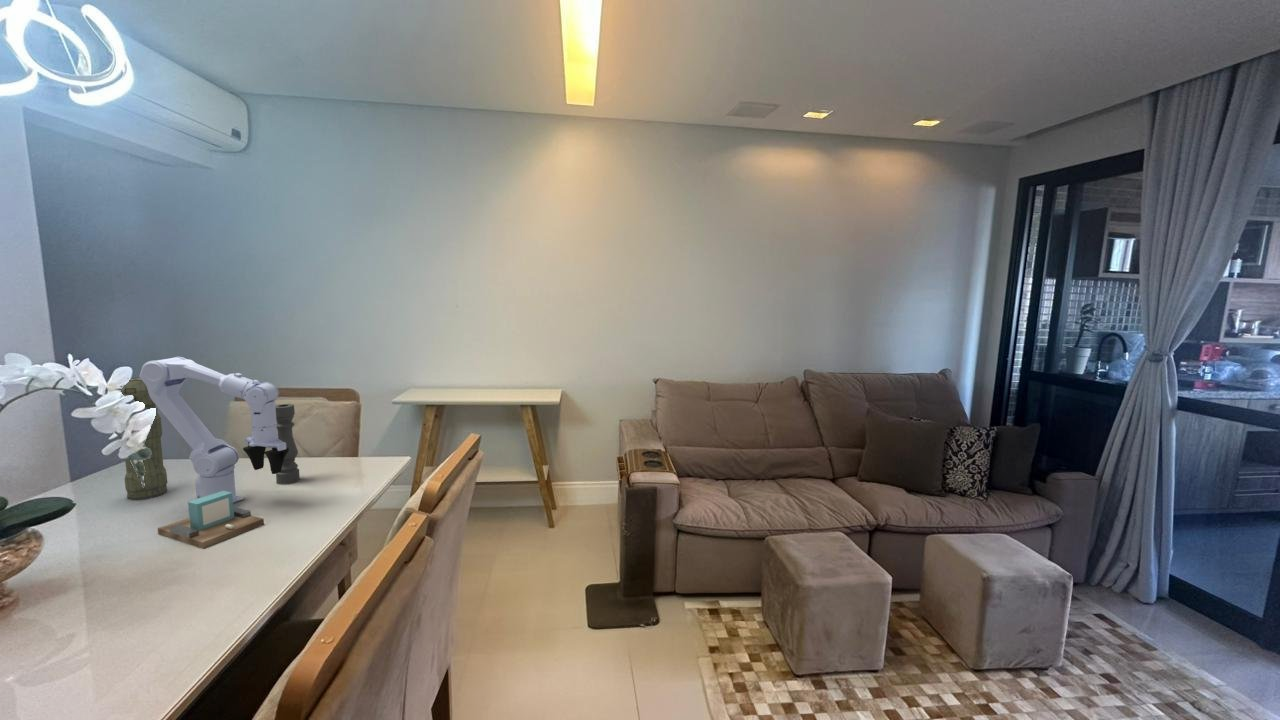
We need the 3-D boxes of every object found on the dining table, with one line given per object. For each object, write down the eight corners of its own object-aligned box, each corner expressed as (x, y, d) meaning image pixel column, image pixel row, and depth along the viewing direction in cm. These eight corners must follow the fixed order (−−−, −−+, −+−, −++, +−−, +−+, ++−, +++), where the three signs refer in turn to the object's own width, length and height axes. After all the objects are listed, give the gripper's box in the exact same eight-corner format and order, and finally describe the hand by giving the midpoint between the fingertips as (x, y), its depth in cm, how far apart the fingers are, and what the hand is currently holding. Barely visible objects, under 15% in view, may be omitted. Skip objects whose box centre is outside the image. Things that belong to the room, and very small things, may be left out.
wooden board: (158, 533, 127) (157, 523, 127) (220, 511, 140) (219, 502, 140) (203, 548, 121) (202, 537, 121) (263, 524, 134) (263, 514, 134)
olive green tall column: (120, 504, 143) (106, 383, 139) (133, 490, 153) (121, 376, 149) (162, 498, 148) (150, 381, 143) (172, 484, 158) (161, 374, 153)
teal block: (190, 528, 128) (188, 501, 127) (225, 515, 135) (223, 490, 134) (199, 530, 127) (196, 504, 126) (234, 517, 134) (232, 492, 133)
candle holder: (303, 480, 165) (298, 405, 162) (281, 485, 160) (276, 408, 156) (294, 476, 168) (289, 402, 165) (273, 481, 163) (267, 406, 160)
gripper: (232, 425, 144) (236, 471, 146) (266, 432, 139) (270, 479, 140) (258, 420, 150) (261, 464, 152) (292, 425, 145) (295, 471, 147)
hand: (267, 470), depth 147 cm, fingers open, 7 cm apart
